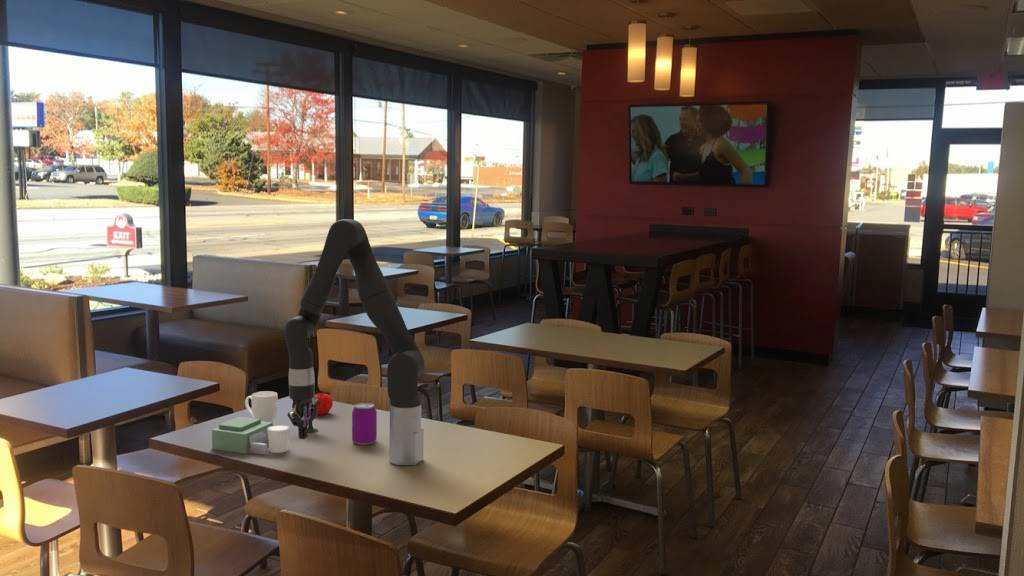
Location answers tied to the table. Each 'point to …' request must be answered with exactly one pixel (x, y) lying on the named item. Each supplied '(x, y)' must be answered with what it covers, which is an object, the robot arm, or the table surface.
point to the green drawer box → (236, 434)
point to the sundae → (310, 427)
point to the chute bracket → (258, 442)
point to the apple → (324, 403)
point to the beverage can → (364, 424)
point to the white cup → (278, 438)
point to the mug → (263, 405)
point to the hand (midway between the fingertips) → (303, 438)
